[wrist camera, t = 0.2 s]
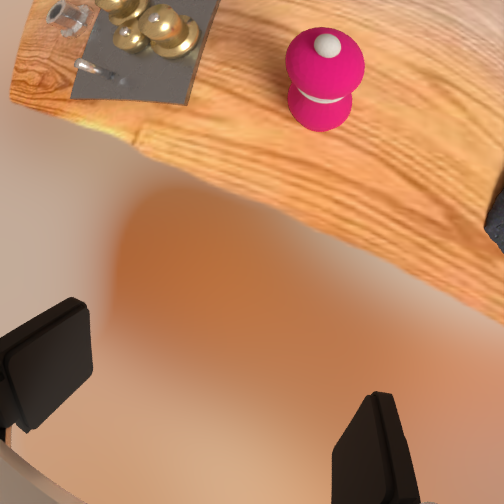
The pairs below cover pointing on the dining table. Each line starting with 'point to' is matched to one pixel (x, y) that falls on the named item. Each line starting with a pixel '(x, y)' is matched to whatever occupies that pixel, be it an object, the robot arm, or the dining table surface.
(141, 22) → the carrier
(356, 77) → the pepper mill
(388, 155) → the dining table surface
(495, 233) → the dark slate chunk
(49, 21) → the planet gear
